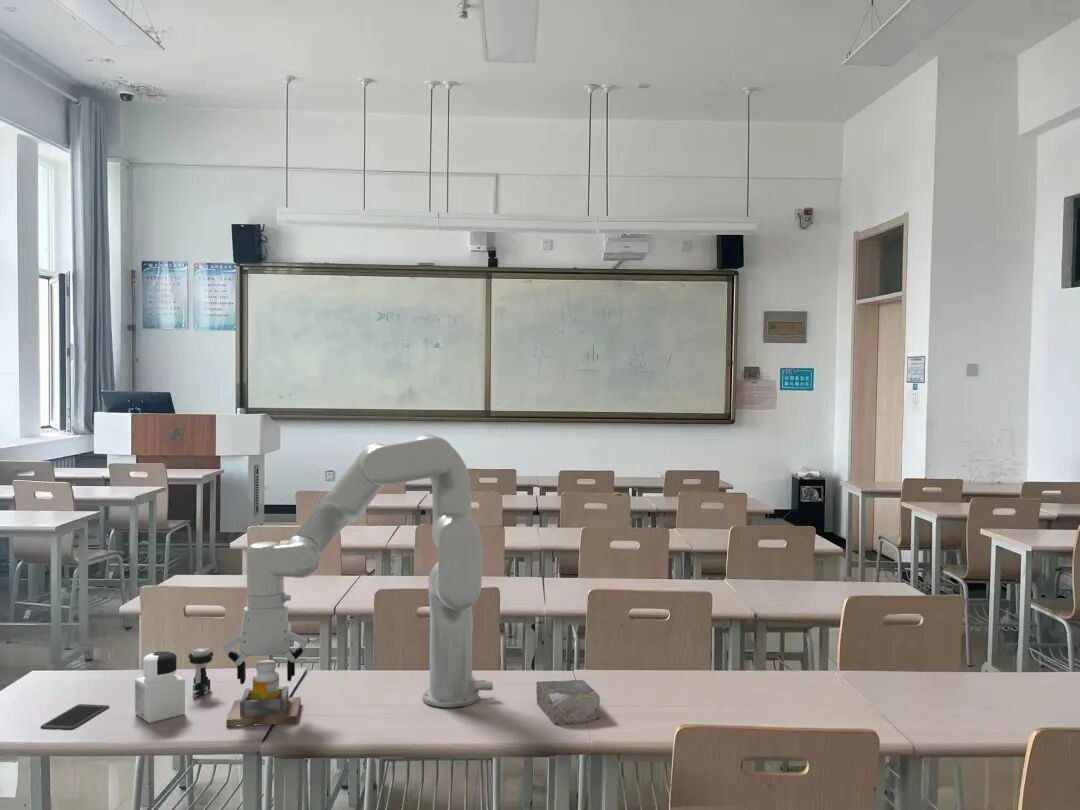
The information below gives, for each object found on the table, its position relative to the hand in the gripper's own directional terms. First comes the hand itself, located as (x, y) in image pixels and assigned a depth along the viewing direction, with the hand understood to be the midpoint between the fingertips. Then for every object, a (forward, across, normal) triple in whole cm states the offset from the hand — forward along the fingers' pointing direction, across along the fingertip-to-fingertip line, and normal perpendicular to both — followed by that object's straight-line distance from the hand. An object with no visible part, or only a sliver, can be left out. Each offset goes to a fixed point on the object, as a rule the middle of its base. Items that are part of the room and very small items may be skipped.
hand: (266, 680), depth 198 cm
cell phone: (+7, +39, -5) cm, 40 cm away
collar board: (+7, 0, 0) cm, 7 cm away
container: (+7, +22, -4) cm, 24 cm away
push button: (+7, +16, -16) cm, 24 cm away
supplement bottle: (+6, 0, 0) cm, 6 cm away
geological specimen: (+9, -64, +8) cm, 65 cm away
